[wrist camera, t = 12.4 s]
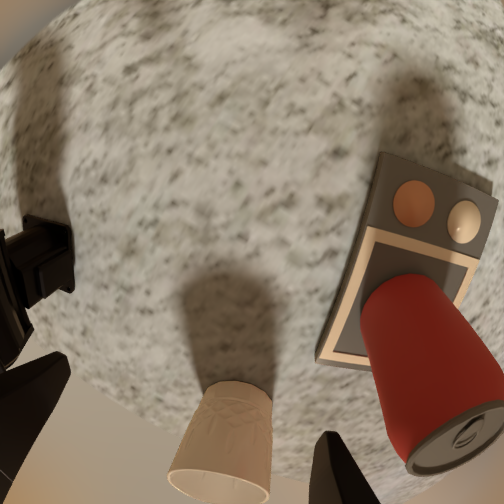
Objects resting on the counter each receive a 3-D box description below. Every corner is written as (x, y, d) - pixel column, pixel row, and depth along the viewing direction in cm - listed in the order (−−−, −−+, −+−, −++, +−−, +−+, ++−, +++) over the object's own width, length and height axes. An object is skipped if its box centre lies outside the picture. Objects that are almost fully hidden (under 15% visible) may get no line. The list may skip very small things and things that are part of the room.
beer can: (446, 267, 17) (544, 379, 6) (429, 342, 20) (484, 462, 9) (362, 271, 18) (424, 418, 7) (353, 349, 21) (378, 491, 9)
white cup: (184, 399, 27) (151, 479, 17) (226, 361, 24) (196, 459, 14) (246, 433, 28) (231, 511, 18) (296, 402, 25) (291, 495, 15)
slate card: (314, 355, 22) (315, 364, 21) (380, 151, 16) (385, 152, 15) (416, 369, 22) (419, 377, 21) (491, 197, 16) (500, 200, 15)
